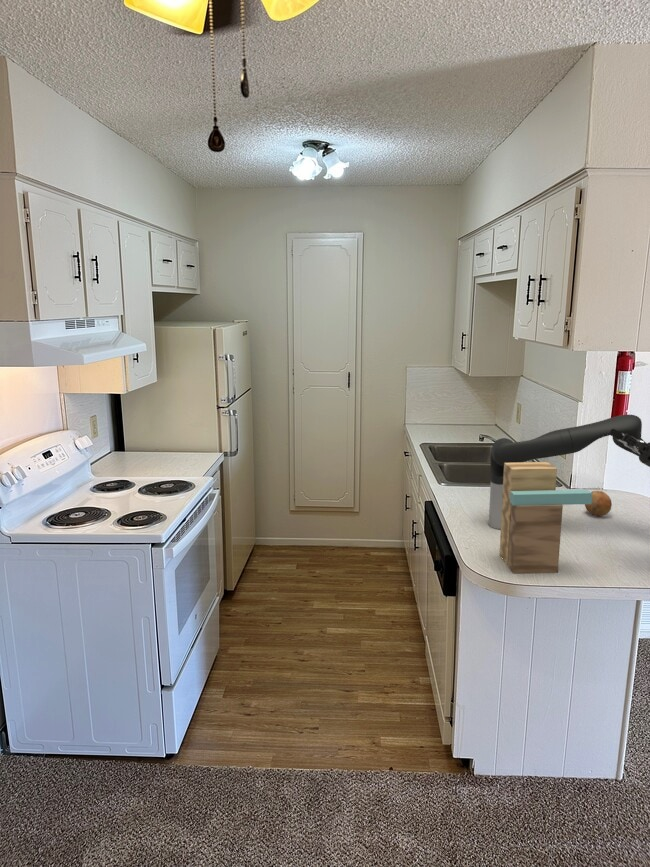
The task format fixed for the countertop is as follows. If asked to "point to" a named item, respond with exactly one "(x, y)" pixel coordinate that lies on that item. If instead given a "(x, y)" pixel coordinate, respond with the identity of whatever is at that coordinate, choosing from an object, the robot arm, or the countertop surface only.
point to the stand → (522, 479)
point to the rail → (550, 497)
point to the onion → (599, 503)
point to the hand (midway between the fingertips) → (617, 433)
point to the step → (535, 538)
